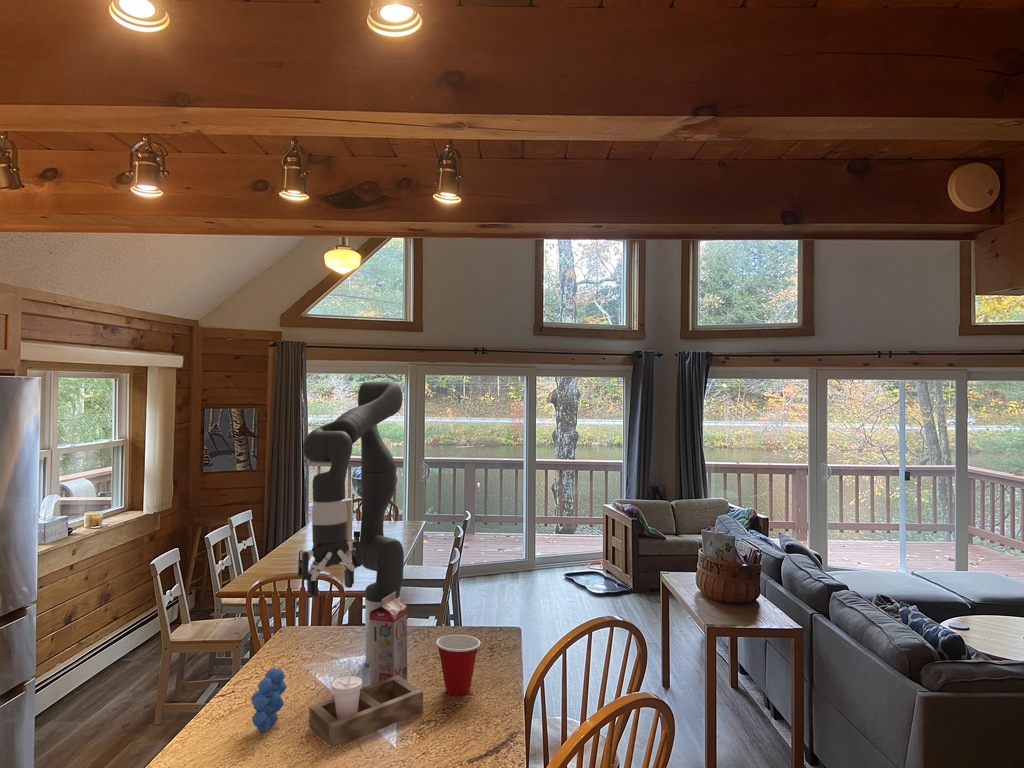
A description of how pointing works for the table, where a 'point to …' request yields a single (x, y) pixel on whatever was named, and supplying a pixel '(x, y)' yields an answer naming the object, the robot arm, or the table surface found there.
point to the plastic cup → (457, 662)
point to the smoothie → (346, 694)
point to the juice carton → (388, 640)
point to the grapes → (268, 699)
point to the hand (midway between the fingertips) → (331, 591)
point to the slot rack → (367, 711)
